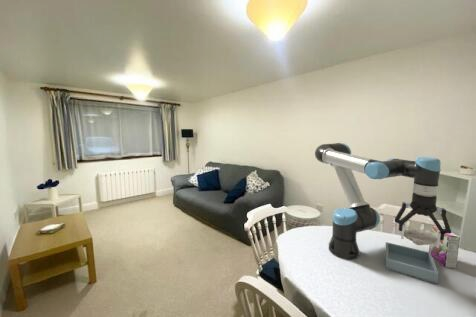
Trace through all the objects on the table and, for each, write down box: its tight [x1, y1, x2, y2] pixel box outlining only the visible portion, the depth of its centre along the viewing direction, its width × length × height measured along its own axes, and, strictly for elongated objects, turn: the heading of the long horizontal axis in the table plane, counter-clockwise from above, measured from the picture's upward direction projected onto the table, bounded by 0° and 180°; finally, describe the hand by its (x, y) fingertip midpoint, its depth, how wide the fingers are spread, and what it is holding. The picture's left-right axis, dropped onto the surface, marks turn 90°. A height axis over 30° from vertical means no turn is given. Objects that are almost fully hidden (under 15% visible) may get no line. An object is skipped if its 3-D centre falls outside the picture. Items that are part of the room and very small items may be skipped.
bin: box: [384, 242, 440, 285], centre depth 98 cm, size 18×18×5 cm
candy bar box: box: [428, 224, 461, 269], centre depth 99 cm, size 11×5×16 cm, turn 168°
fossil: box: [404, 228, 437, 246], centre depth 87 cm, size 9×6×10 cm
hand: (419, 241), depth 87 cm, fingers closed on fossil, 11 cm apart
